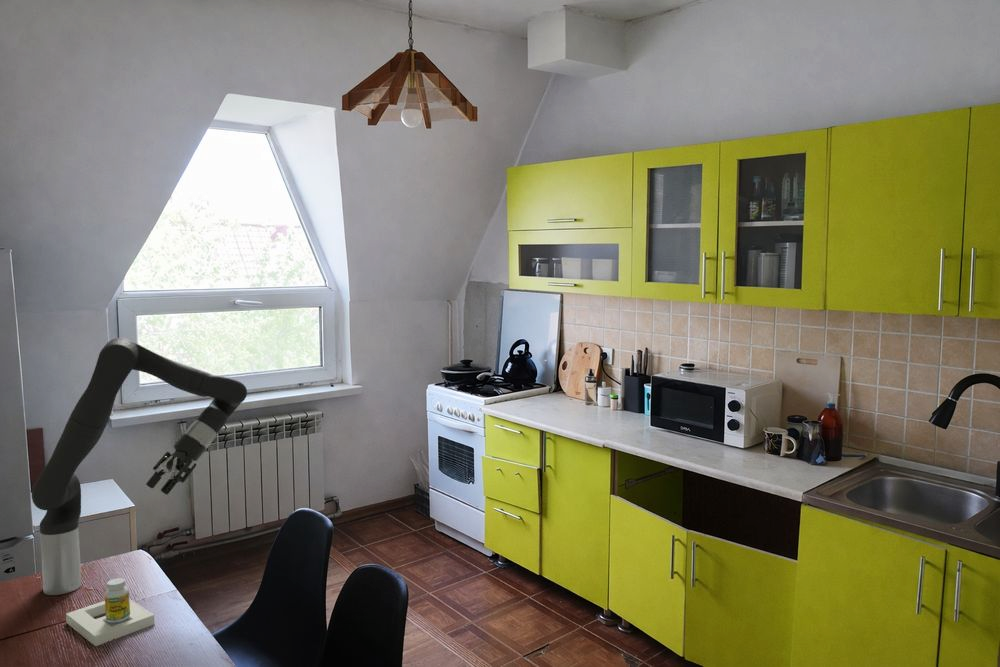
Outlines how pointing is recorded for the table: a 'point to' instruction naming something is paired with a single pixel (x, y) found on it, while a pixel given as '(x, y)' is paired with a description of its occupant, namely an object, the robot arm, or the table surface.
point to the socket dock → (103, 630)
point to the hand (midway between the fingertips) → (156, 489)
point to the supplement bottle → (117, 601)
